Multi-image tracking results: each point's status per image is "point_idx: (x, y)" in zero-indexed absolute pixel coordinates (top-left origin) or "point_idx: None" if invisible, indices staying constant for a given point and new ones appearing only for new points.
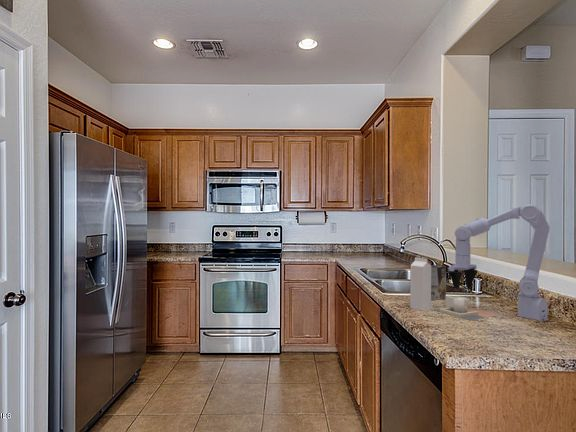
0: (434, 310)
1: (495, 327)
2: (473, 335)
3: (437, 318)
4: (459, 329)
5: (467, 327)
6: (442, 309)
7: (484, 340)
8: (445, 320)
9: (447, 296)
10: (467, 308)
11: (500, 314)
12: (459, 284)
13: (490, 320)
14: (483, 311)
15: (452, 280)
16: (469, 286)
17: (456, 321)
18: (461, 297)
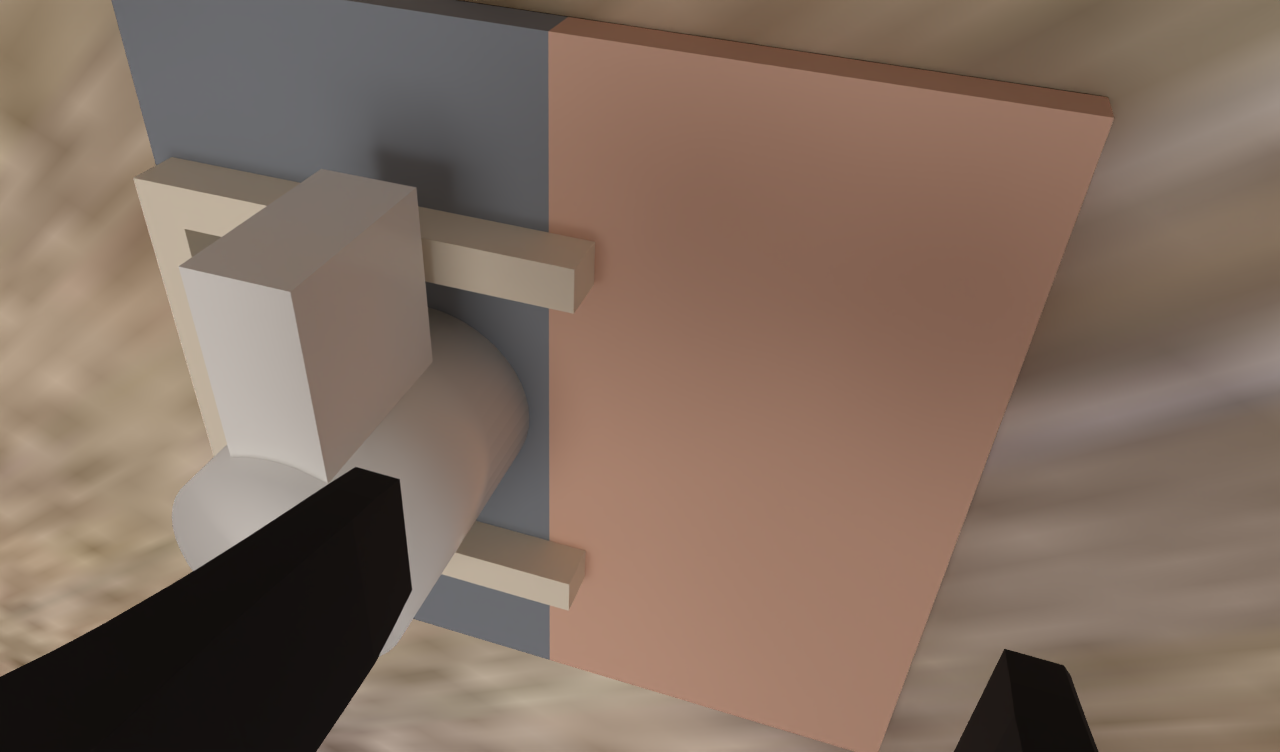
0: (144, 37)
1: (402, 724)
2: None
3: (51, 244)
4: (57, 550)
5: (162, 576)
6: (156, 230)
7: None
8: (99, 351)
9: (203, 306)
10: (850, 344)
11: (869, 748)
12: (333, 710)
13: None
14: (854, 579)
15: (128, 633)
16: (962, 749)
17: (196, 445)
18: None
